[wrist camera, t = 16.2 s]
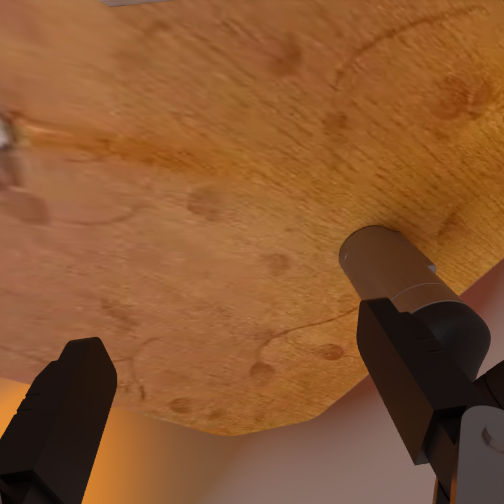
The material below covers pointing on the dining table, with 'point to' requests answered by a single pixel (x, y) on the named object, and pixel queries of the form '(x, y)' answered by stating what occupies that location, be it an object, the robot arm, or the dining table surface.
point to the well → (126, 2)
